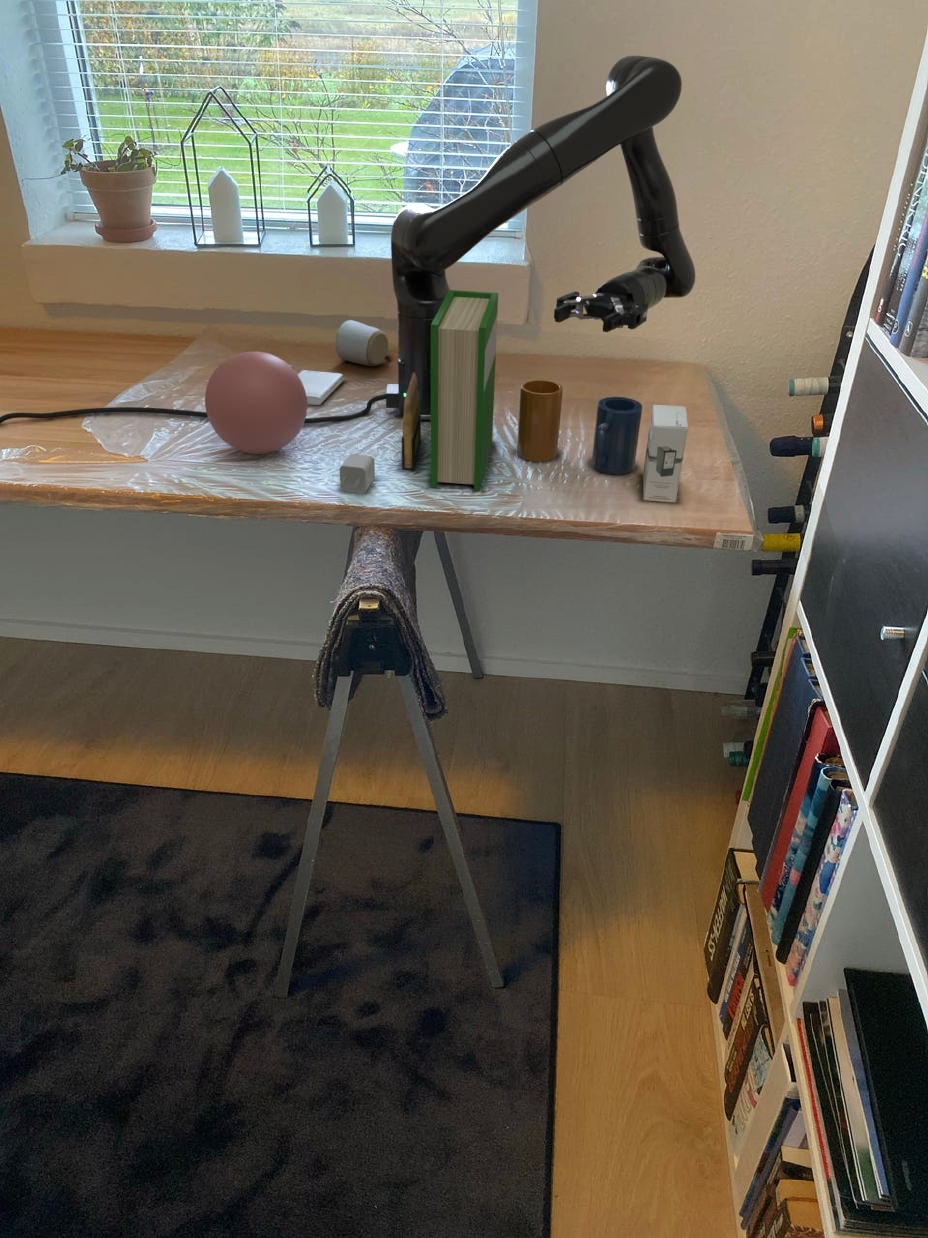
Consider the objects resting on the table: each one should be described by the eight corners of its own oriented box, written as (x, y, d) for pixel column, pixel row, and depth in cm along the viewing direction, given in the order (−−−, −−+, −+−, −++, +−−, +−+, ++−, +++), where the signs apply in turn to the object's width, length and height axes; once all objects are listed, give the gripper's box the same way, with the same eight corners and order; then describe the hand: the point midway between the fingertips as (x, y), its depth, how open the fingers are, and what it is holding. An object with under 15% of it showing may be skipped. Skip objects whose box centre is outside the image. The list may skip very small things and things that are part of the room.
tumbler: (518, 461, 147) (522, 393, 141) (515, 444, 152) (519, 379, 146) (559, 461, 147) (564, 394, 141) (554, 445, 152) (560, 379, 146)
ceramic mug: (369, 372, 179) (368, 331, 175) (335, 364, 183) (333, 324, 178) (400, 358, 187) (400, 319, 183) (367, 350, 190) (366, 312, 186)
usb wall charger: (375, 480, 140) (374, 456, 138) (361, 501, 134) (360, 475, 132) (349, 477, 141) (348, 453, 139) (335, 498, 135) (333, 472, 133)
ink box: (641, 475, 143) (651, 402, 137) (674, 478, 143) (686, 404, 136) (642, 500, 136) (653, 424, 130) (676, 503, 136) (689, 427, 129)
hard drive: (301, 369, 175) (275, 391, 165) (343, 373, 174) (319, 396, 164) (302, 378, 176) (276, 400, 166) (343, 382, 175) (320, 405, 165)
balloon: (340, 429, 156) (335, 337, 147) (280, 476, 140) (270, 377, 132) (259, 415, 160) (250, 325, 152) (192, 460, 145) (177, 362, 136)
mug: (603, 453, 150) (610, 393, 144) (641, 463, 147) (649, 402, 141) (575, 474, 143) (581, 412, 138) (614, 485, 140) (621, 422, 135)
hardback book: (480, 491, 138) (485, 327, 125) (430, 487, 139) (430, 324, 125) (492, 443, 152) (498, 292, 139) (447, 440, 153) (449, 289, 140)
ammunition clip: (414, 470, 143) (413, 395, 137) (402, 469, 143) (400, 394, 137) (420, 442, 152) (420, 370, 145) (409, 442, 152) (408, 369, 146)
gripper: (590, 268, 159) (542, 288, 148) (667, 281, 153) (624, 303, 142) (586, 312, 164) (540, 336, 152) (661, 327, 157) (619, 352, 146)
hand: (580, 320), depth 147 cm, fingers open, 8 cm apart
